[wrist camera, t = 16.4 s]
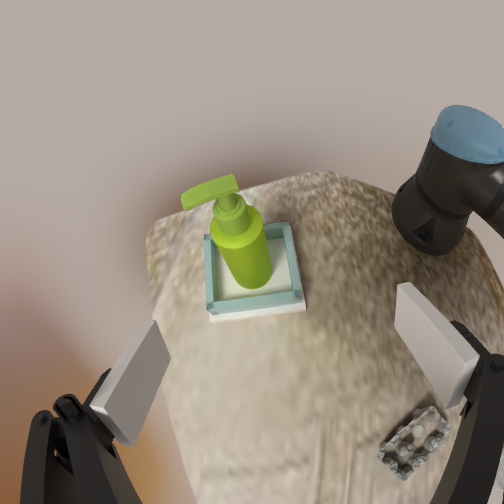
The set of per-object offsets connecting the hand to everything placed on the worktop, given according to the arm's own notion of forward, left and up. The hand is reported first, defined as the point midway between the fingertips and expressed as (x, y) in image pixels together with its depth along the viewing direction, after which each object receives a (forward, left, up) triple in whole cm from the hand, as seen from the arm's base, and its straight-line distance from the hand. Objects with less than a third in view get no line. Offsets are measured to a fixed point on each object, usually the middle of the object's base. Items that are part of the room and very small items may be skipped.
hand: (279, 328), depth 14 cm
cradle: (+3, -14, -25) cm, 29 cm away
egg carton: (-17, +17, -26) cm, 35 cm away
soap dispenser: (+4, -14, -24) cm, 28 cm away
